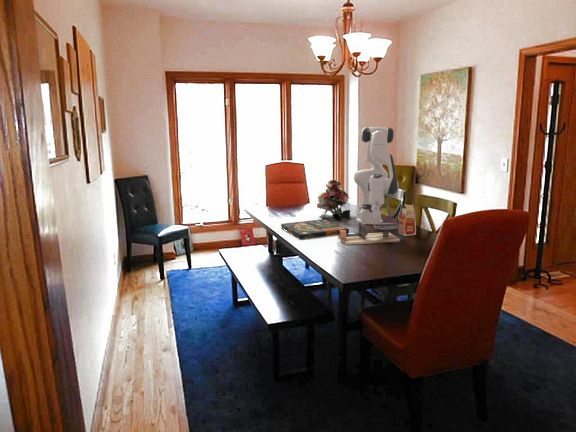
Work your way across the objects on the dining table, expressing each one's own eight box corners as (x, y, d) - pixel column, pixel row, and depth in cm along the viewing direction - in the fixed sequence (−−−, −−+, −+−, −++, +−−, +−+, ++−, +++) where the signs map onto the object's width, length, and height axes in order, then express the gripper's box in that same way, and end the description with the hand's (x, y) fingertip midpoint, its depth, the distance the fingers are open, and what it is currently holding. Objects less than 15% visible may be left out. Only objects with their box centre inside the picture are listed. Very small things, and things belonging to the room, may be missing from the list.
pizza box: (325, 223, 322) (325, 218, 321) (348, 234, 289) (348, 228, 289) (281, 228, 309) (281, 223, 309) (300, 240, 277) (300, 234, 277)
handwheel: (394, 224, 279) (394, 214, 278) (401, 229, 264) (401, 219, 263) (370, 225, 278) (370, 215, 277) (376, 230, 263) (377, 220, 262)
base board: (338, 237, 278) (337, 220, 276) (389, 234, 283) (389, 217, 281) (345, 244, 261) (345, 226, 259) (399, 241, 266) (400, 223, 263)
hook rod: (338, 237, 271) (338, 230, 270) (365, 235, 273) (365, 228, 272) (340, 239, 267) (340, 231, 266) (367, 237, 270) (367, 229, 269)
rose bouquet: (349, 214, 349) (349, 177, 343) (351, 222, 321) (351, 181, 315) (317, 214, 352) (317, 177, 346) (316, 222, 324) (315, 182, 318)
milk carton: (404, 236, 278) (405, 205, 274) (397, 232, 287) (398, 202, 283) (417, 234, 280) (418, 204, 276) (409, 231, 289) (410, 201, 285)
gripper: (381, 203, 258) (381, 226, 261) (382, 198, 278) (381, 219, 280) (370, 203, 259) (370, 226, 262) (372, 198, 279) (371, 219, 282)
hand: (376, 222), depth 271 cm, fingers open, 5 cm apart
